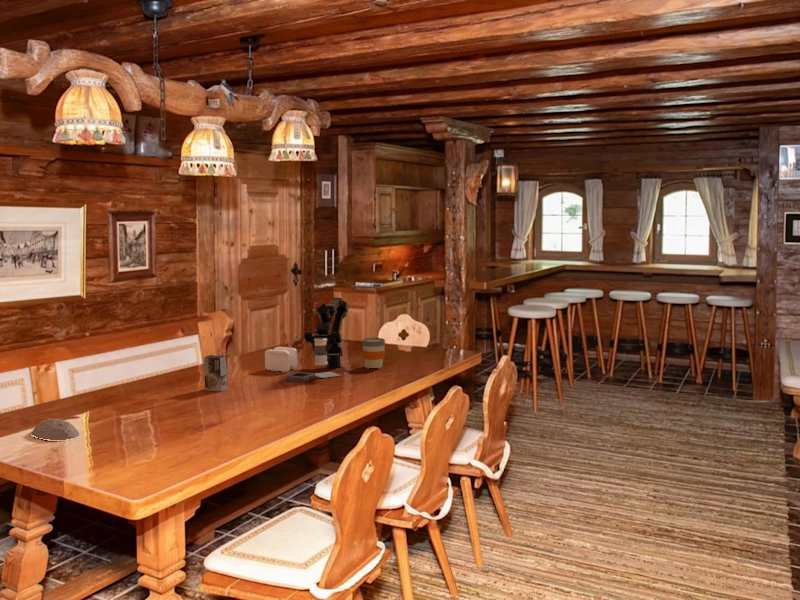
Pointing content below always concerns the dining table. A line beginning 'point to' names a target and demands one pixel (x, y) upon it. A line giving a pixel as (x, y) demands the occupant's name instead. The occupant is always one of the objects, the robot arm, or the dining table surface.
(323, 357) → the cable reel
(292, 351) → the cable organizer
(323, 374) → the rubber mat
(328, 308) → the robot arm
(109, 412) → the dining table surface
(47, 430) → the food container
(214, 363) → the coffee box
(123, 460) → the dining table surface
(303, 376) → the reel dock
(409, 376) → the dining table surface
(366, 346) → the reusable coffee cup
